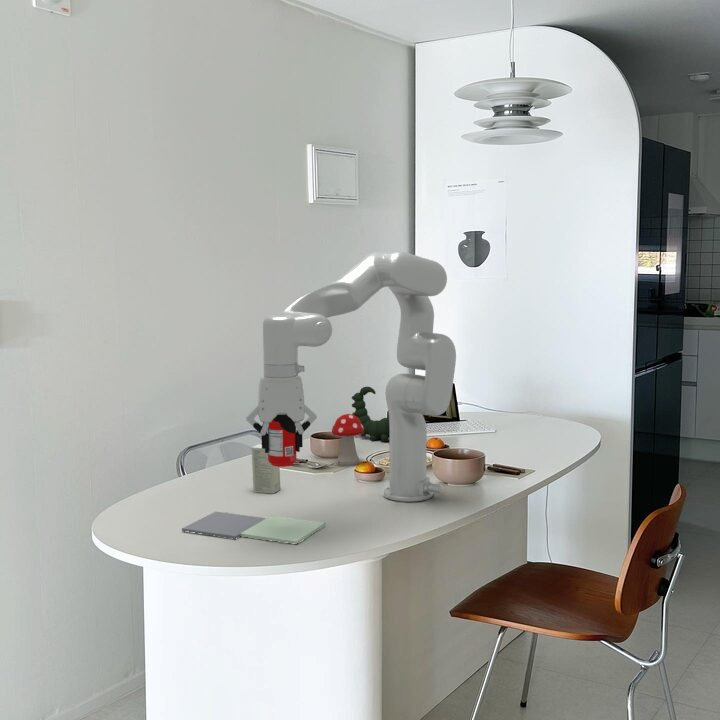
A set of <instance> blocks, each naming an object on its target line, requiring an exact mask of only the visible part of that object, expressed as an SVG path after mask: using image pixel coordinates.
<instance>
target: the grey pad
mask: <svg viewBox="0 0 720 720" xmlns="http://www.w3.org/2000/svg"><path fill="white" fill-rule="evenodd" d="M266 518H267V517H261V516H260V517H259V516H252V515H246V514H237V513H232V512H231V513H230V512H222V511H213V512H212V513H210V514H208V515H206V516H204V517H202V518H200V519H198V520H196V521H193V522H192V523H190V524H188V525H185V526H184V527H182V528H181V532H182V531H189V532H195V533H202V534H207V535H215V536H220V537H226V538H225V539H227V538H233V539H232V540H234V539H236V538H238V537H239V538H241V537H240V533H242V532H244V531H245V530H247V529H249V528H251V527H252V526H254V525H256V524H258V523H259V522H261V521H263V520H265V519H266ZM207 535H206V536H207ZM220 537H219V538H220ZM239 538H238V539H239ZM236 540H237V539H236Z"/></svg>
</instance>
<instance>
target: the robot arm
mask: <svg viewBox="0 0 720 720" xmlns="http://www.w3.org/2000/svg"><path fill="white" fill-rule="evenodd" d="M447 283H448V276H447V272H446V270H445V267H444V266H443V265H442V264H441V263H439V262H437V261H436V260H432V259H429V258H425V257H422V256H418V255H415V254H412V253H408V252H405V251H401V250H398V251H397V250H396V251H395V250H393V251H392V250H390V251H389V250H388V251H387V250H386V251H383V250H382V251H381V250H378V251H372V252H369V253H367V254H365V255H364V256H363V257H362V258H361V259H359V260H358V261H357V262H356V263H355V264H353V266H351V267H350V268H349V269H348V270H347V271H345V272H344V273H343V274H342V275H340V276H339V277H338V278H337V279H335V280H333V281H332V282H330V283H328V284H325V285H323V286H321V287H319V288H317V289H314V290H313V291H310V292H308V293H307V294H304V295H302V296H301V297H299V298H297V300H295V301H293V302H292V303H291V304H290V305H288V306H287V308H285V309H284V310H283V311H281V313H280V314H278V315H277V314H273V315H268V316H266V317H265V318H264V319H263V322H262V345H263V346H262V348H263V350H262V352H263V376H261V377H260V378H259V384H258V385H259V386H258V400H257V401H258V403H257V404H258V405H256V407H255V408H254V409H252V411H251V412H249V414H248V415H247V416H246V421H247V422H248V423H249V424H250V425H251V426H252V427H253V428H254V429H255V430H256V431H257V432H258V433H259V434H260V435H261V444H262V449H265V453H268V427H269V423H270V422H271V421H272V420H273V419H274V418H275V417H276V416H277V413H279V414H282V413H287V415H288V416H289V417H290V418H291V419H292V420H293V422H295V426H296V453H300V452H301V451H300V450H301V449H300V448H303V447H304V446H303V434H304V433H305V431H306V430H307V429H309V427H310V426H311V425H312V424H313V423H314V422H315V420H317V414H316V413H315V412H314V411H313V410H312V409H311V408H309V407H308V406H307V405H306V404H305V395H304V387H303V385H304V384H303V379H302V376H300V375H299V374H300V373H302V372H305V365H302V364H299V363H298V361H299V354H298V351H299V349H298V347H311V348H316V347H320V346H323V345H325V344H326V343H327V342H329V341H330V339H331V336H332V334H333V333H332V332H333V326H332V323H331V321H330V320H329V318H330V317H336V316H340V315H345V314H348V313H352V312H354V311H355V312H356V310H358V309H360V308H361V307H362V306H363V305H364V304H365V303H366V302H368V301H369V300H371V298H372V297H373V296H375V294H377V293H378V292H379V291H380V290H381V289H383V288H386V287H388V289H389V290H390V291H391V292H392V294H393V296H394V297H395V298H396V301H397V303H398V305H399V308H400V321H399V322H400V323H399V330H398V337H397V346H396V360H397V362H398V364H400V365H401V366H402V367H404V368H407V369H412V370H419V371H424V372H425V373H424V374H425V375H422V374H415V373H413V374H412V373H399V374H396V375H394V376H392V377H391V378H390V379H389V380H388V381H387V384H386V387H385V392H384V393H385V401H386V405H387V411H388V415H389V426H390V438H389V486H387V487H386V488H384V489H383V496H384V497H385V498H386V499H388V500H391V501H395V502H408V503H409V502H411V503H413V502H422V501H425V500H429V499H430V498H431V499H432V497H433V494H441V493H442V490H443V488H442V485H441V484H440V483H434V482H433V483H432V481H431V478H430V477H428V476H427V445H428V444H427V436H428V431H427V430H428V429H427V423H426V420H425V417H424V415H426V416H431V417H433V416H441V415H442V414H444V413H445V412H446V411H447V410H448V408H449V405H450V403H451V400H452V394H453V385H454V378H455V371H456V361H457V351H456V346H455V344H454V342H453V340H452V339H451V338H450V337H449V336H448V335H446V334H443V333H435V332H434V325H435V324H434V322H435V309H434V306H433V303H432V301H431V299H430V298H429V297H435V296H438V295H439V294H441V293H442V292H443V291H444V290H445V288H446V286H447ZM305 414H306V415H307V416H308V417H307V419H306V420H305V421H304V422H303V420H304V419H305ZM256 416H258V419H259V421H260V422H261V423H262V424H260V423H259V422H258V421H256V419H255V418H256ZM301 422H303V423H302V424H301Z"/></svg>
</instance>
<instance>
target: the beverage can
mask: <svg viewBox="0 0 720 720" xmlns="http://www.w3.org/2000/svg"><path fill="white" fill-rule="evenodd" d="M296 430H297V428H296V426H295V422H293V420H292V419H291V418H290V417H289V416H288V415H287V413H282V414H279V413H277V416H276V417H275V418H274V419H273V420H272V421H271V422H270V423H269V427H268V429H267V434H268V461H269V463H271V464H272V465H273V466H276V467H280V468H285V467H291V466H293V465H294V464H295V463H296V462H297V451H296Z"/></svg>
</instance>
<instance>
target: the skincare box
mask: <svg viewBox="0 0 720 720" xmlns="http://www.w3.org/2000/svg"><path fill="white" fill-rule="evenodd" d="M251 463H252V486H253V487H252V488H253V491H252V492H254V493H260V494H261V493H262V494H263V493H264V494H275V493H277V492H278V491H280V490H281V473H280V472H281V467H276V466H273V465H272V464H271V463H269V461H268V453H265V449H262V443H258V444H255V445H253V446H251Z"/></svg>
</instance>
